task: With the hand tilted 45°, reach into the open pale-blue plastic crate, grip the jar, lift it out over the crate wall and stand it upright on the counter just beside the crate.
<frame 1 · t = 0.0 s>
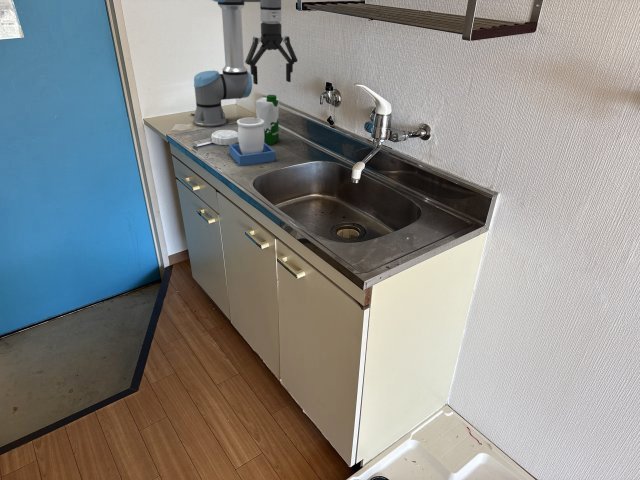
hand: (272, 82, 182), 28 cm above the counter, tool pointing down, fingers open, 13 cm apart
mooncake: (225, 141, 206), on the counter
jar: (252, 158, 190), resting in blue crate
milk carton: (268, 141, 208), on the counter
blue crate: (252, 157, 190), on the counter
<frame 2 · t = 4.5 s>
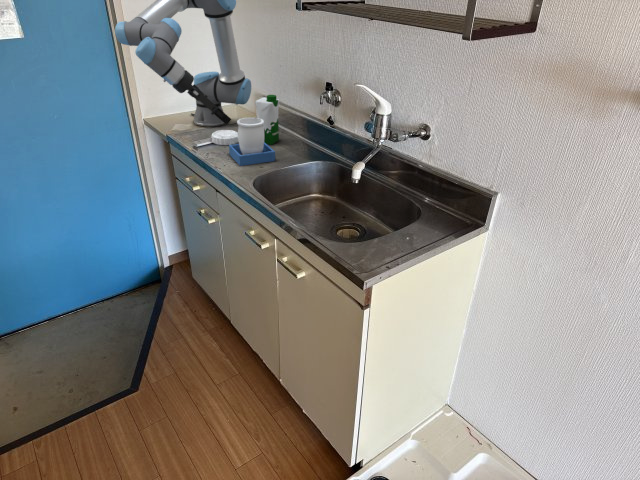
hand: (223, 117, 177), 17 cm above the counter, tool tilted 45°, fingers open, 13 cm apart
nothing on the counter moved.
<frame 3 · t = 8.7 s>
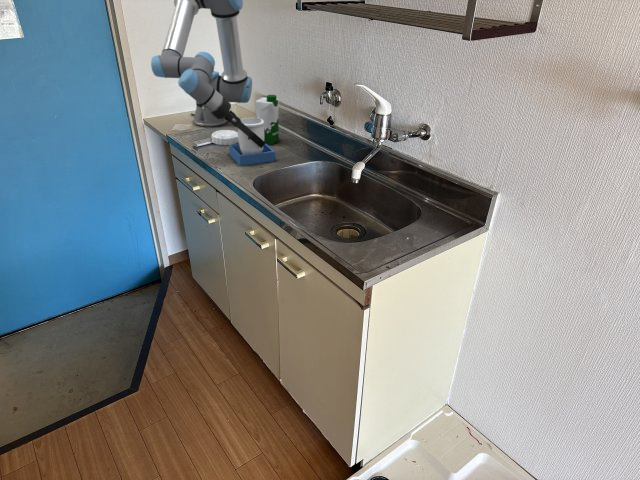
hand: (258, 141, 188), 7 cm above the counter, tool tilted 45°, fingers closed on jar, 10 cm apart
jar: (252, 158, 190), resting in blue crate, touching gripper
everything else where it was.
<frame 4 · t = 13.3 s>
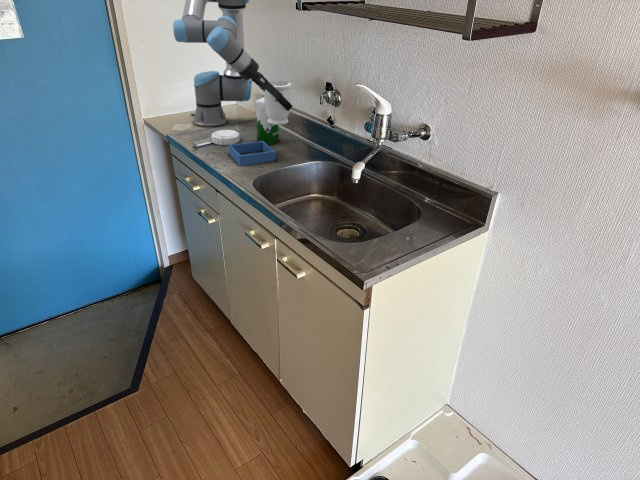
hand: (284, 104, 185), 20 cm above the counter, tool tilted 45°, fingers closed on jar, 10 cm apart
jar: (277, 122, 188), point 13 cm above the counter, touching gripper
everything else where it was.
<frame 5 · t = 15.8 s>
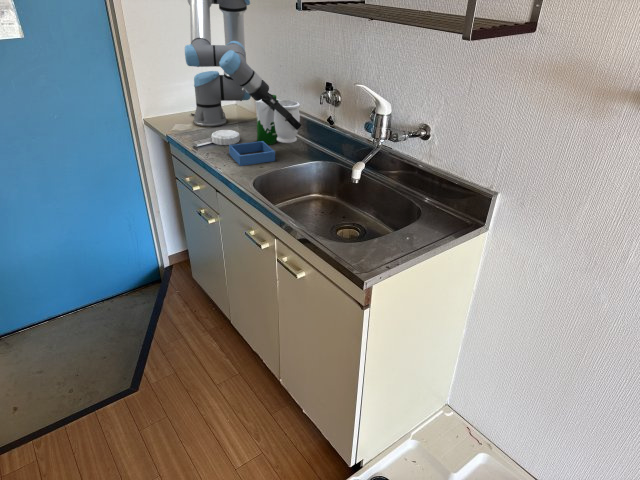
hand: (293, 123, 191), 12 cm above the counter, tool tilted 45°, fingers closed on jar, 10 cm apart
jar: (286, 140, 193), point 5 cm above the counter, touching gripper
everything else where it was.
when the fingers open (7 cm above the counter, at t = 18.0 s): jar stays where it is, on the counter.
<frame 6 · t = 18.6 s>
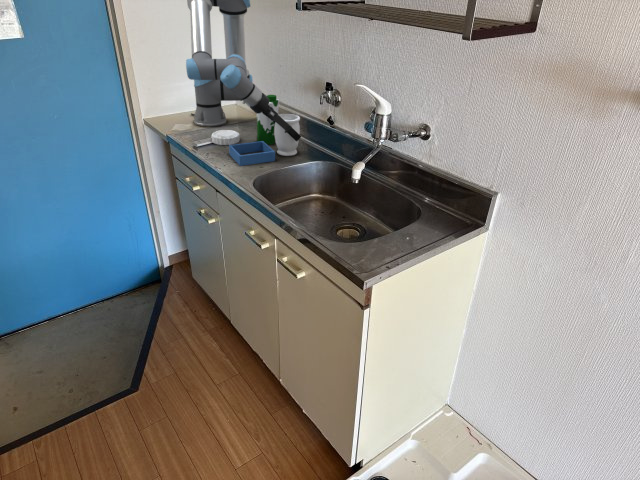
hand: (292, 133, 193), 8 cm above the counter, tool tilted 45°, fingers open, 13 cm apart
jar: (287, 153, 196), on the counter
everything else where it was.
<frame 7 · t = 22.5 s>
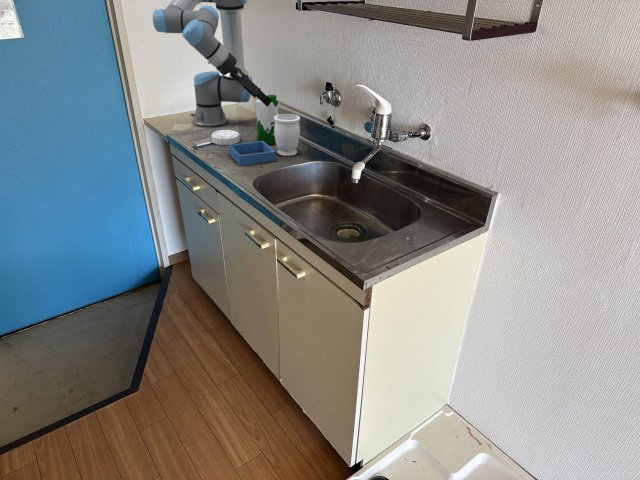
hand: (263, 99, 181), 23 cm above the counter, tool tilted 45°, fingers open, 13 cm apart
nothing on the counter moved.
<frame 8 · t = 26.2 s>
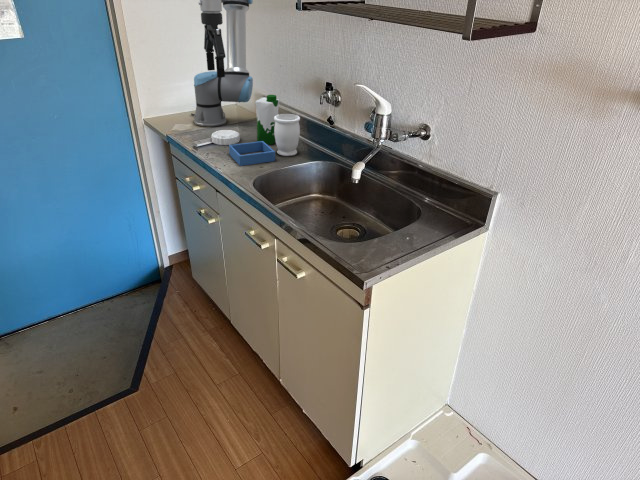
hand: (216, 73, 180), 31 cm above the counter, tool pointing down, fingers open, 13 cm apart
nothing on the counter moved.
at the end: jar inside the target area (0.4 cm from its centre), on the counter; jar tilted 0°; the gripper is holding nothing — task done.
